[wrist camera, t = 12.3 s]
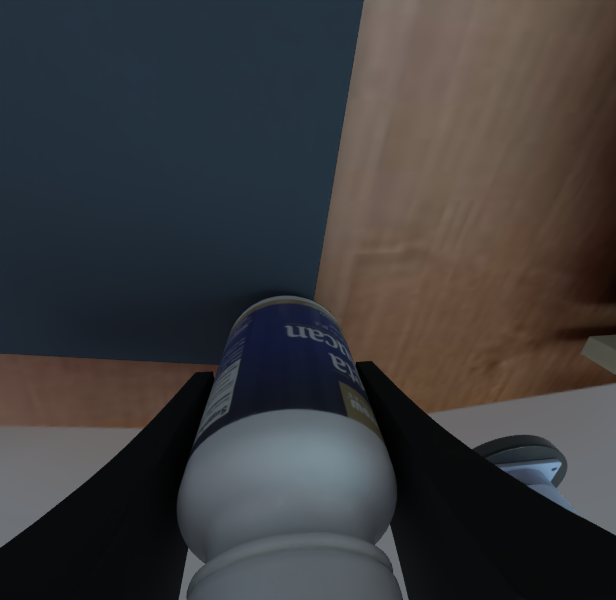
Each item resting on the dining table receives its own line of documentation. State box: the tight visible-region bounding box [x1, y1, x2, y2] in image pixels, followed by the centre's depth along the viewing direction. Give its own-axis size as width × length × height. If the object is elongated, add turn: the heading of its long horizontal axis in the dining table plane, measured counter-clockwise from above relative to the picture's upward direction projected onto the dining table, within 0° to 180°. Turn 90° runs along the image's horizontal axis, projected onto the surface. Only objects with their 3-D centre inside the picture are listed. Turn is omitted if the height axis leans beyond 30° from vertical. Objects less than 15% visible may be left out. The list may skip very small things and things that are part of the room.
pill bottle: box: [177, 296, 403, 600], centre depth 8 cm, size 5×5×10 cm
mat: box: [0, 0, 364, 365], centre depth 10 cm, size 15×24×1 cm, turn 82°
